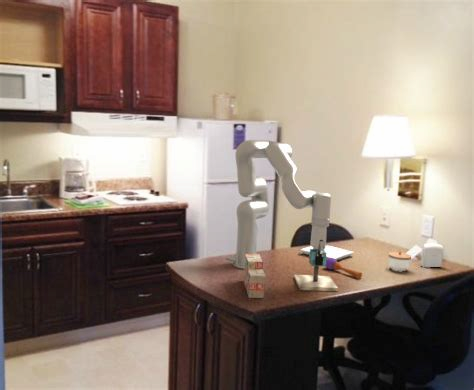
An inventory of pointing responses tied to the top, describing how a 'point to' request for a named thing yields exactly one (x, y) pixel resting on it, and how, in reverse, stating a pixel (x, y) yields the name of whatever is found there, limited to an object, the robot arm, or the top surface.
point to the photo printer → (432, 255)
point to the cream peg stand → (315, 282)
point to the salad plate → (331, 252)
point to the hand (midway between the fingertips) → (317, 262)
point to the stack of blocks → (254, 276)
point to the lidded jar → (399, 261)
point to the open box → (313, 255)
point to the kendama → (341, 268)
